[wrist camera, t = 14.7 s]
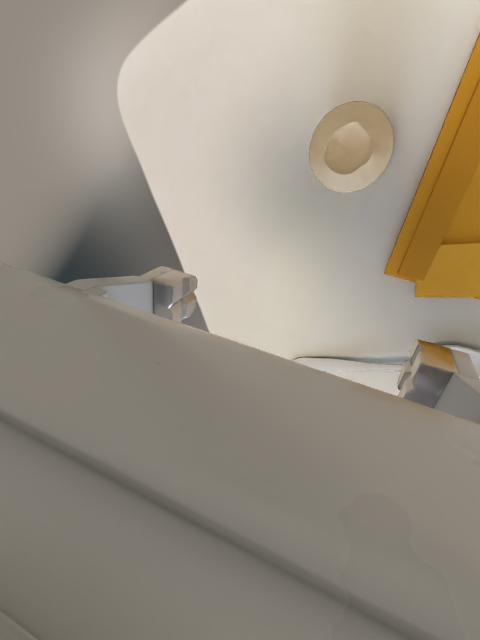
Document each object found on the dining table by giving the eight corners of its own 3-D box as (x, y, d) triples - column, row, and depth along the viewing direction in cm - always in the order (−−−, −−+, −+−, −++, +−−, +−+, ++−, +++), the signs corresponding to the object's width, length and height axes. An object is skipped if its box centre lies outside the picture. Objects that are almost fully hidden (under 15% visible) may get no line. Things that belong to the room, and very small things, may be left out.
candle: (344, 106, 28) (325, 85, 20) (405, 127, 27) (412, 114, 19) (318, 172, 31) (292, 177, 23) (373, 193, 30) (366, 206, 22)
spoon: (491, 375, 33) (495, 384, 32) (294, 378, 42) (291, 385, 41) (490, 339, 32) (495, 347, 30) (287, 350, 41) (284, 357, 40)
